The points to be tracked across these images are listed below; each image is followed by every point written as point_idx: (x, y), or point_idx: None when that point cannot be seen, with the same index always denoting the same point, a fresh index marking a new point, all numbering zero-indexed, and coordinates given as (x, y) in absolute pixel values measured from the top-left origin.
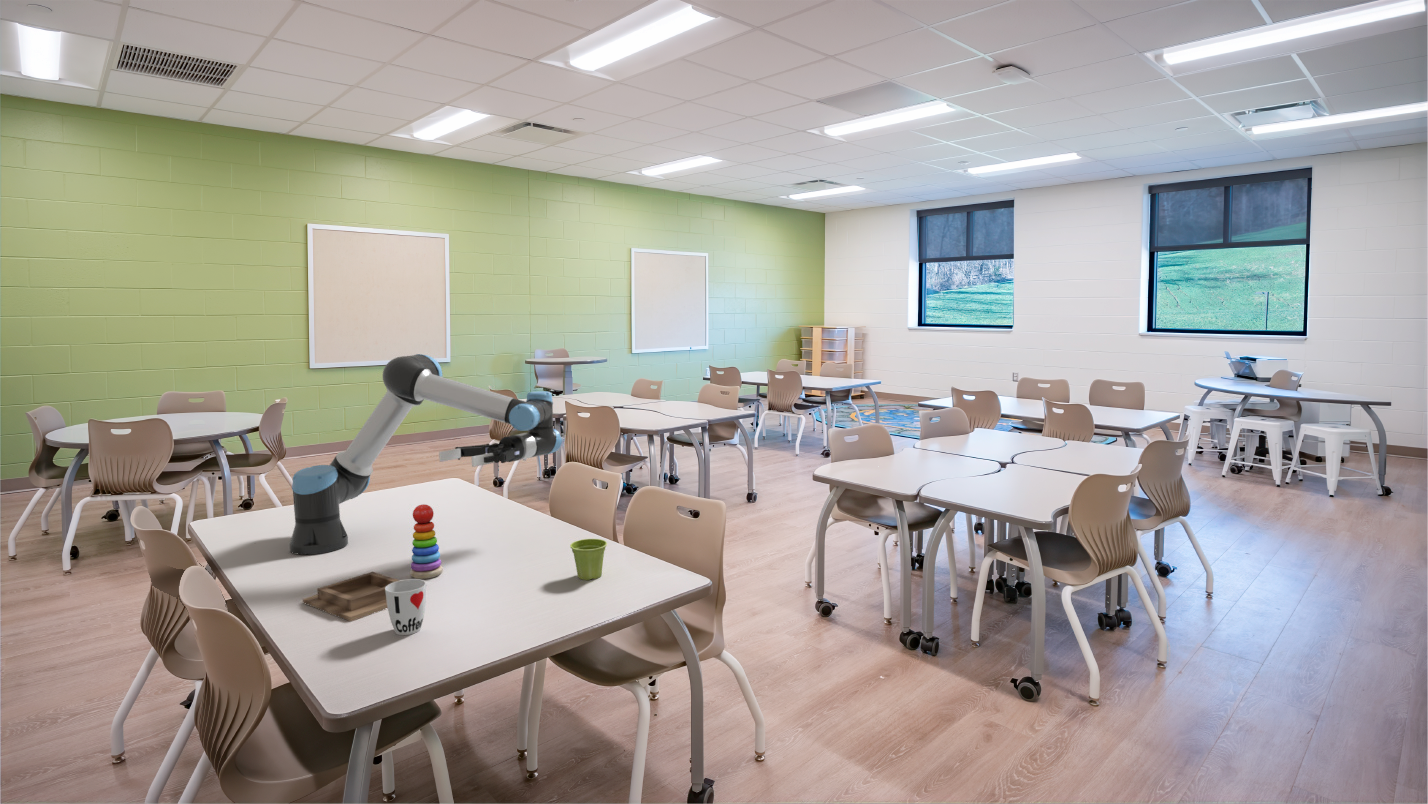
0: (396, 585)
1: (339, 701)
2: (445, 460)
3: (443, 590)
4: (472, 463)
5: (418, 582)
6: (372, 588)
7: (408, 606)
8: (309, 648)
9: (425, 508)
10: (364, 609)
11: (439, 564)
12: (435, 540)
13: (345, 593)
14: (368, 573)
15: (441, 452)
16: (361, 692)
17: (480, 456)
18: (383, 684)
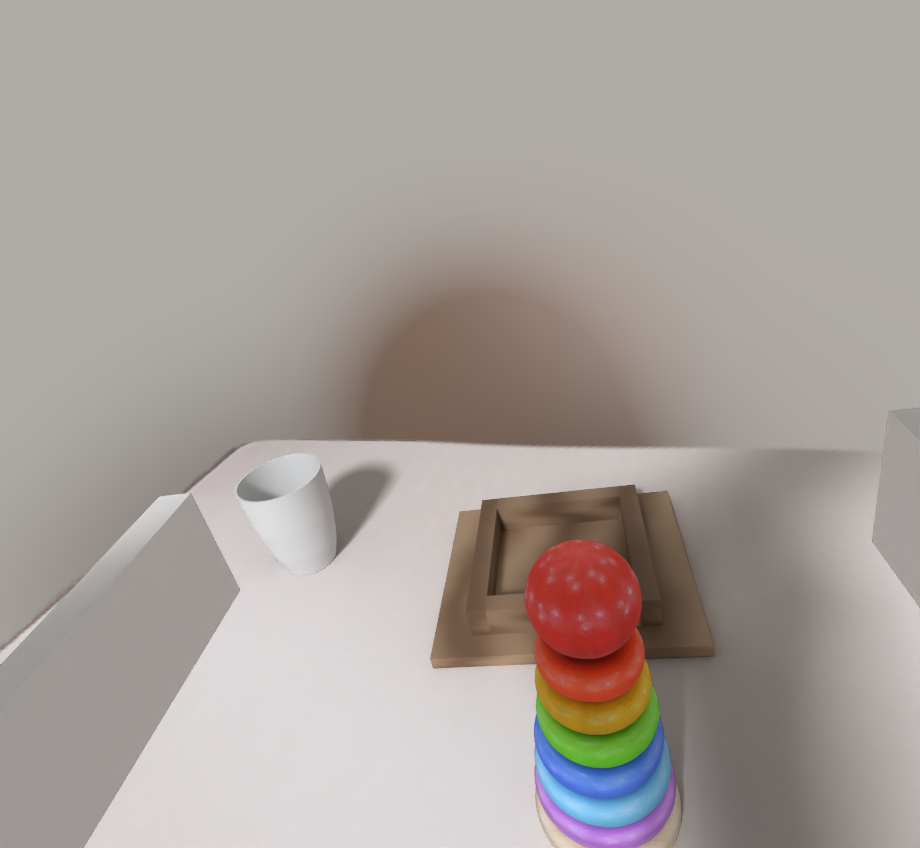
0: (317, 481)
1: (263, 449)
2: (910, 588)
3: (402, 732)
4: (213, 560)
5: (273, 505)
6: None
7: (266, 497)
8: (427, 461)
9: (536, 562)
10: (470, 537)
11: (541, 804)
12: (543, 727)
13: (619, 549)
14: (651, 586)
15: (894, 424)
16: (250, 464)
17: (93, 584)
18: (233, 481)
